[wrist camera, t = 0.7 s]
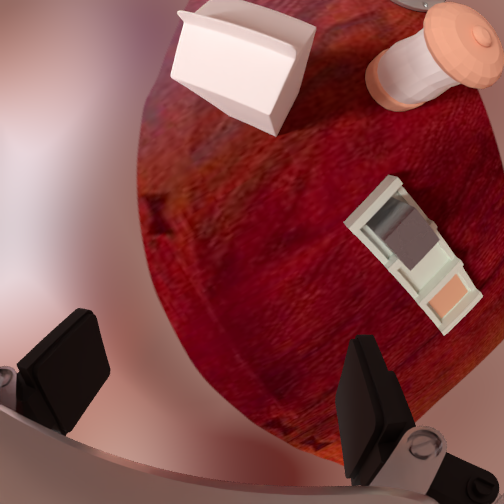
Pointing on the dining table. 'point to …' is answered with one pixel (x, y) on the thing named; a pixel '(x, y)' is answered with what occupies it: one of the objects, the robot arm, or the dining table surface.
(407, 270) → the white compartment tray
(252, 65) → the milk
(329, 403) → the dining table surface
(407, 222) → the tall gray pillar
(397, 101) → the pepper shaker
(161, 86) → the dining table surface
